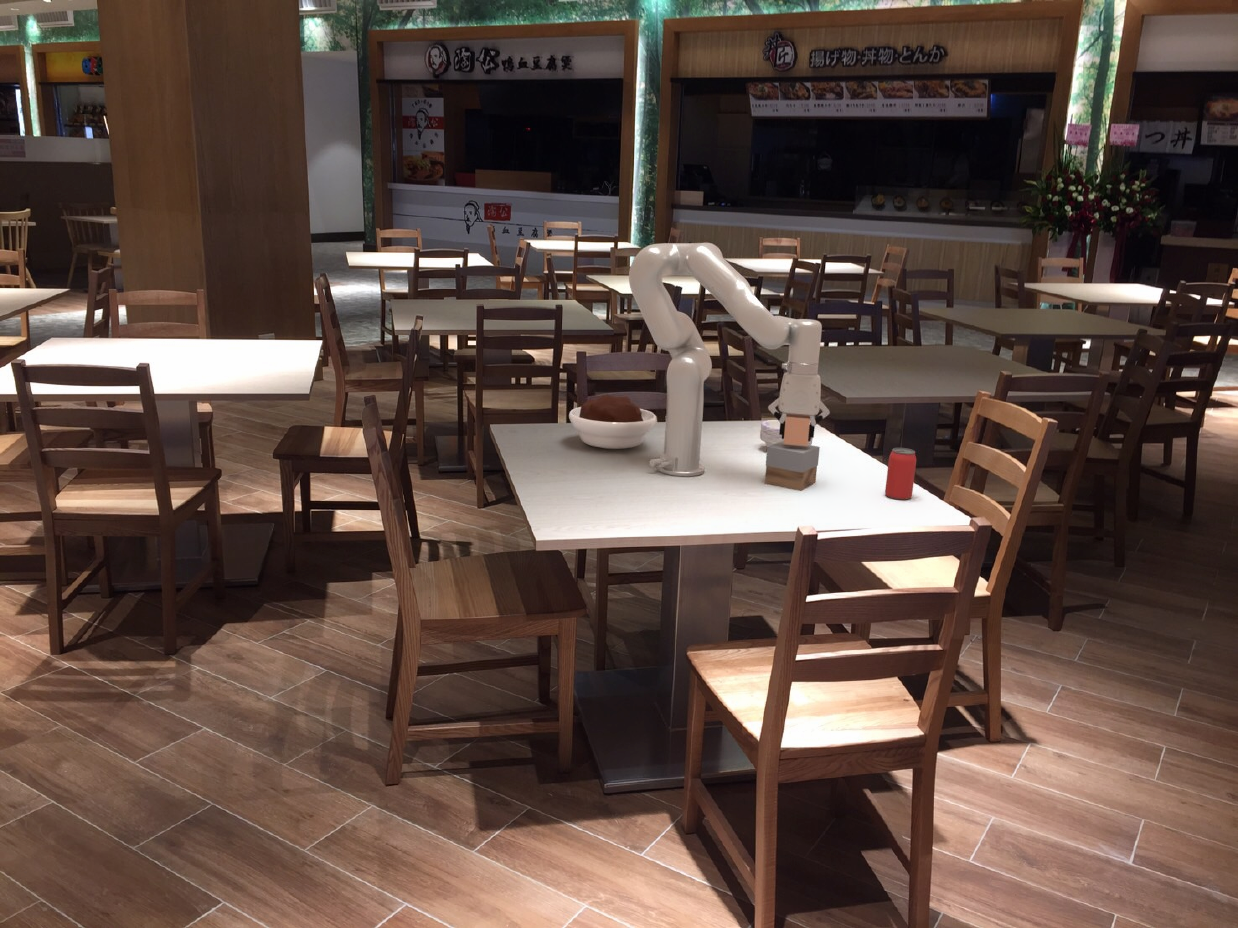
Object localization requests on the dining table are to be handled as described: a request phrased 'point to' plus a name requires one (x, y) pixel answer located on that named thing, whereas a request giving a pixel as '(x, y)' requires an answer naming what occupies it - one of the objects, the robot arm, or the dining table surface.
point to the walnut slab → (790, 478)
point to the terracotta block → (796, 430)
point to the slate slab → (792, 457)
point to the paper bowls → (772, 432)
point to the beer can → (900, 474)
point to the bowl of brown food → (611, 422)
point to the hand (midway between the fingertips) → (796, 438)
